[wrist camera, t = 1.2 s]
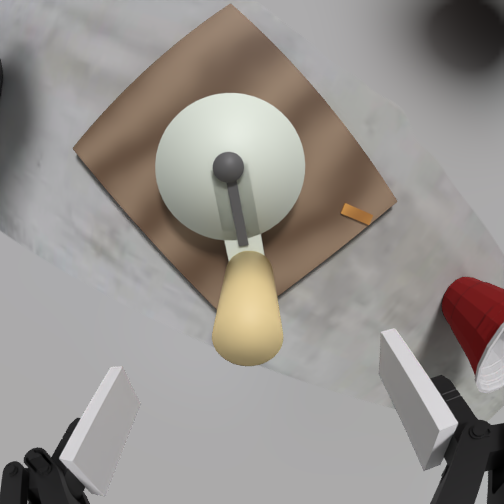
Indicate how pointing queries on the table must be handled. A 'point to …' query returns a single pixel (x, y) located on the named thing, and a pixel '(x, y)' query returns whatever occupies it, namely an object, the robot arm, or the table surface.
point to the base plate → (254, 84)
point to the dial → (235, 206)
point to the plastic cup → (478, 328)
